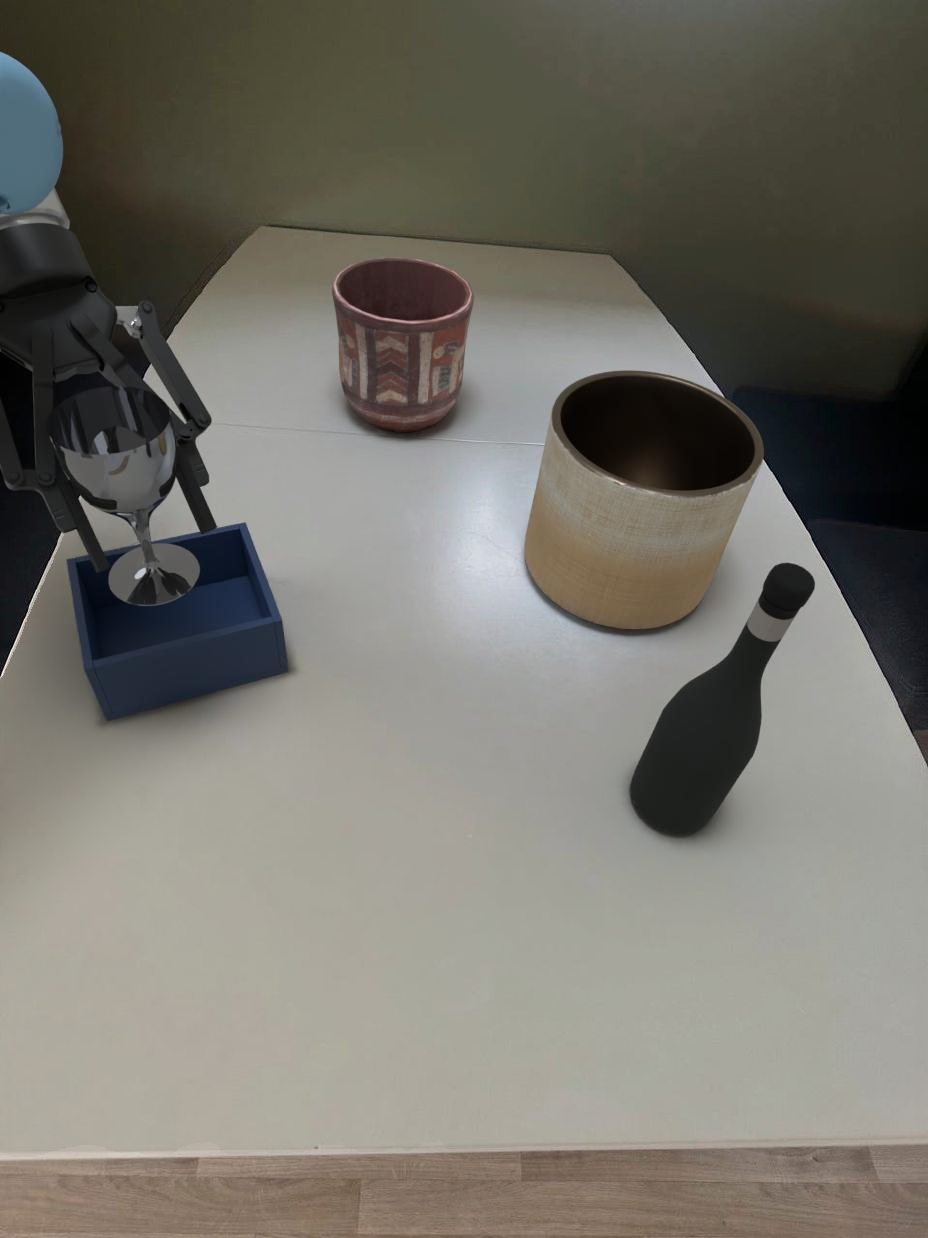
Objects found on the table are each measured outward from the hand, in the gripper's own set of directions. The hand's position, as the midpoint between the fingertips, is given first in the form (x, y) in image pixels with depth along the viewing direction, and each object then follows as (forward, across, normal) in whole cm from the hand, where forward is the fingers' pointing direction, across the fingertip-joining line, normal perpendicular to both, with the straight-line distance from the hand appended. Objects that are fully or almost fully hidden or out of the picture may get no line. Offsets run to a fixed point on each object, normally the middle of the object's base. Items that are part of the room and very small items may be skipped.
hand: (157, 549), depth 60 cm
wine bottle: (+38, -32, +6) cm, 50 cm away
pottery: (-8, -45, -41) cm, 61 cm away
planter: (+20, -49, -12) cm, 55 cm away
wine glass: (+2, 0, -6) cm, 7 cm away
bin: (+9, -2, -23) cm, 25 cm away
